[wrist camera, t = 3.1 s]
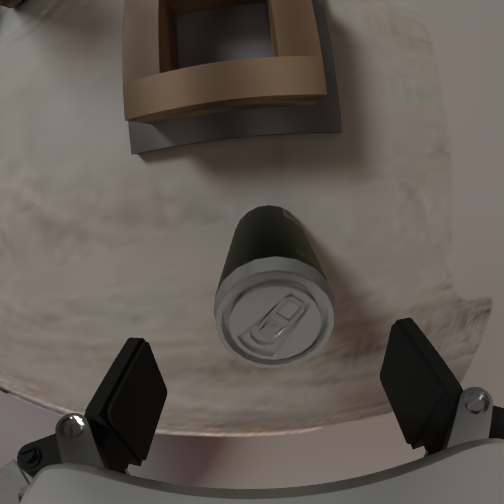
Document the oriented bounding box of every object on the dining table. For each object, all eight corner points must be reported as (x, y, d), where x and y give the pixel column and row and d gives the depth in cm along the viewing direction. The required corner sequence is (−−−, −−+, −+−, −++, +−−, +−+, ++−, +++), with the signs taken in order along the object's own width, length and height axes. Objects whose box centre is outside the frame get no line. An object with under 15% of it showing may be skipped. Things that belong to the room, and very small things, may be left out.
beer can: (260, 189, 21) (260, 238, 10) (315, 229, 22) (365, 311, 11) (222, 243, 22) (187, 335, 11) (275, 278, 23) (285, 385, 12)
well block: (311, -26, 13) (322, -59, 8) (338, 132, 19) (362, 128, 14) (132, -1, 14) (106, -26, 9) (137, 154, 20) (102, 157, 15)
